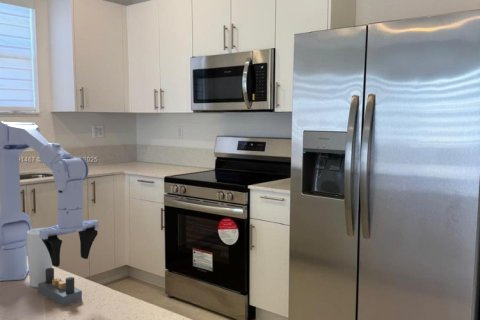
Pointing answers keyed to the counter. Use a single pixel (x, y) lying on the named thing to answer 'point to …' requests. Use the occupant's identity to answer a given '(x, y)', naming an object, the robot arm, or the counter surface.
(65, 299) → the grey base plate
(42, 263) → the drinking glass
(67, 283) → the cord plug front
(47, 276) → the cord plug back
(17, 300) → the counter surface
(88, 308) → the counter surface
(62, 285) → the tan wooden dumbbell piece
